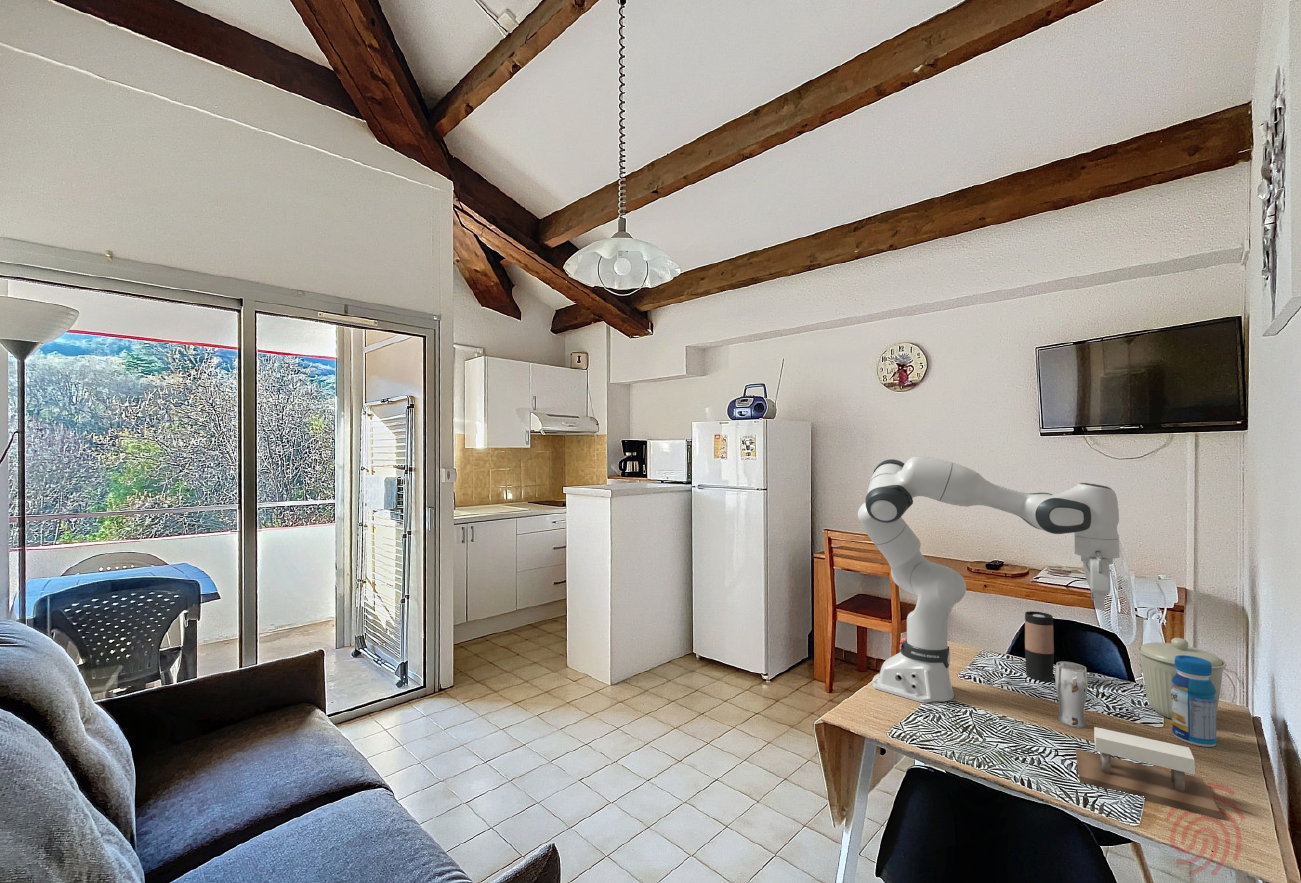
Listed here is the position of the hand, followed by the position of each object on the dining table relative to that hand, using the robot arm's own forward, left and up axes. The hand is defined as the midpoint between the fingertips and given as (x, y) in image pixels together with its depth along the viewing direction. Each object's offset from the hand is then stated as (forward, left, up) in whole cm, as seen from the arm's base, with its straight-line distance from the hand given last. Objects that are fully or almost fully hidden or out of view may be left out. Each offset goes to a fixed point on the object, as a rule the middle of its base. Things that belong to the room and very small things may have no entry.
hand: (1097, 604), depth 143 cm
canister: (+20, +32, -34) cm, 51 cm away
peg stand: (+6, -17, -34) cm, 39 cm away
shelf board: (+6, -17, -28) cm, 33 cm away
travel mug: (-12, +43, -34) cm, 56 cm away
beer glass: (-5, +10, -34) cm, 36 cm away
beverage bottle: (+20, +16, -34) cm, 43 cm away
